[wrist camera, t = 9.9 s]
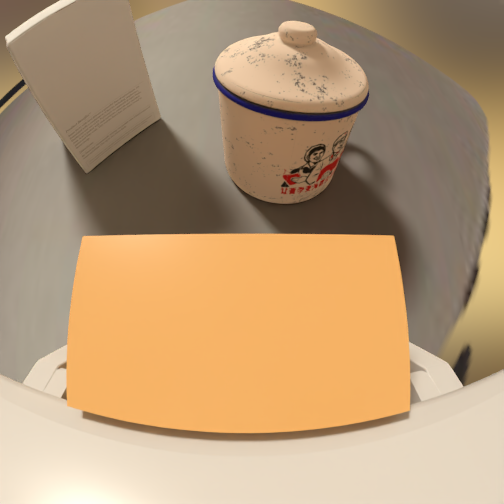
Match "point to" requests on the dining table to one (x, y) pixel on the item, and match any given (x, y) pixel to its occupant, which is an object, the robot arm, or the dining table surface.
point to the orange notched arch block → (239, 331)
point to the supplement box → (86, 75)
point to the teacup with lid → (286, 111)
